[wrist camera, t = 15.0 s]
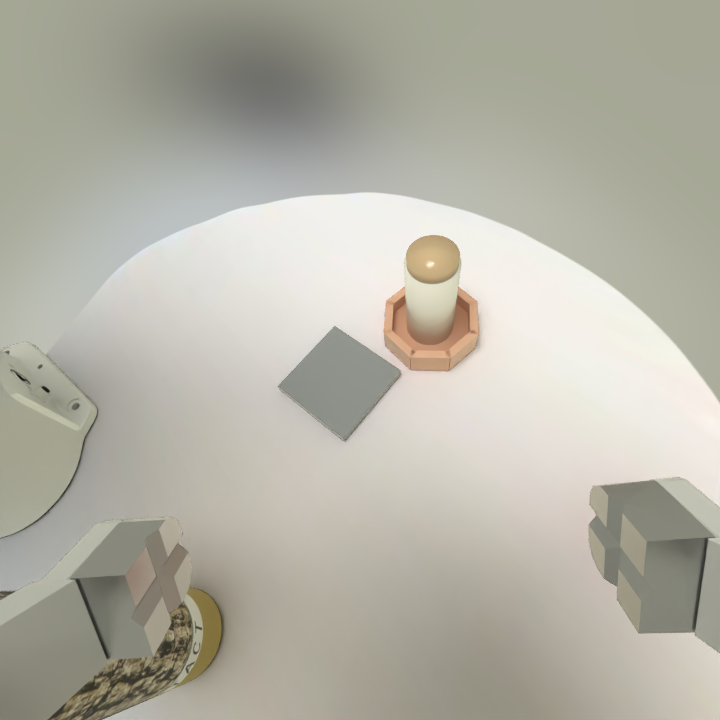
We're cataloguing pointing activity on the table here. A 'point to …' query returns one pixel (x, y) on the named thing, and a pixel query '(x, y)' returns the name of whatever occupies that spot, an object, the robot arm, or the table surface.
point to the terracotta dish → (431, 355)
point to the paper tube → (151, 663)
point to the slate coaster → (339, 382)
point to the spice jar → (431, 288)
